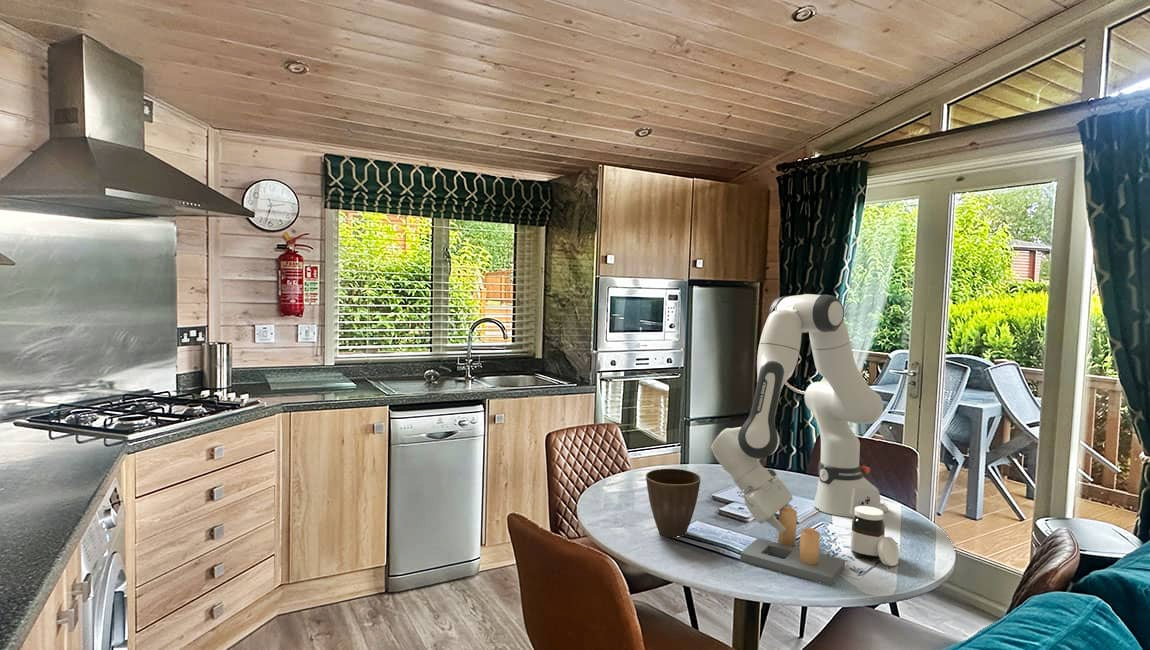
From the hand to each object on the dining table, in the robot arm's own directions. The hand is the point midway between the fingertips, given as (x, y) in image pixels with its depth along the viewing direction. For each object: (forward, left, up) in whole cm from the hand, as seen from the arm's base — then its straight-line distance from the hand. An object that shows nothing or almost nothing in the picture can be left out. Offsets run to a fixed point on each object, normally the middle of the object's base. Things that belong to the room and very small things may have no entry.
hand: (789, 526), depth 172 cm
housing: (+7, +11, -5) cm, 14 cm away
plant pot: (+26, -16, -5) cm, 31 cm away
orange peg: (0, 0, -5) cm, 5 cm away
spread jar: (-16, +14, -5) cm, 21 cm away
